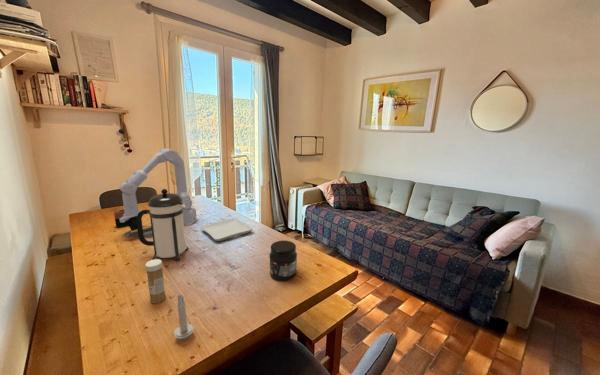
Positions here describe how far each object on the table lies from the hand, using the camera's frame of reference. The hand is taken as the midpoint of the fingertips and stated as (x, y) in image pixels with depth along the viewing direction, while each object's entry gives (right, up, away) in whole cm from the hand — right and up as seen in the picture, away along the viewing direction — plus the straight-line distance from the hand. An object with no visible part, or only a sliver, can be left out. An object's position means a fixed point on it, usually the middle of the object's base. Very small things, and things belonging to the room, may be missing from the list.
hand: (134, 230), depth 129 cm
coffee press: (+28, -8, -20) cm, 35 cm away
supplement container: (+79, -12, -32) cm, 86 cm away
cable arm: (+5, -2, -1) cm, 6 cm away
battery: (-14, 0, +12) cm, 18 cm away
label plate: (+3, -2, +4) cm, 5 cm away
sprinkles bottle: (+39, -15, -47) cm, 63 cm away
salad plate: (+46, -3, +6) cm, 47 cm away
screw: (+55, -18, -62) cm, 85 cm away
